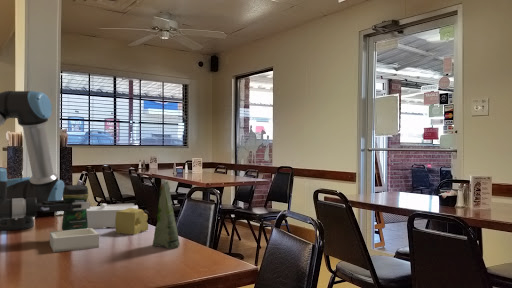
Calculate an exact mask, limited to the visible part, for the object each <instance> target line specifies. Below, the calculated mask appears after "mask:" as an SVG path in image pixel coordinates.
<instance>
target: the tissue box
mask: <svg viewBox="0 0 512 288" xmlns="http://www.w3.org/2000/svg"><path fill="white" fill-rule="evenodd" d="M128 208H135V209H139V206H138V205H137V204H136V205H135V203H118V204H117V203H116V204H107V203H101V204H100V206H99V205H98V206H90V209H87V221H88V228H94V229H104V228H103V227H115V219H116V212H117V211H121V210H125V209H128Z"/></svg>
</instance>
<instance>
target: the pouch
mask: <svg viewBox="0 0 512 288" xmlns="http://www.w3.org/2000/svg"><path fill="white" fill-rule="evenodd" d="M170 187H171V186H170V184H169V181H168V180H166V181H164V182H163V183H162V184H161V185H160V187H159V200H158V204H157V209H158V211H157V214H156V218H157V223H156V225H155V227H154V234H153V235H154V236H153V241H152V244H151V245H152V247H163V248H167V249H173V248H177V247H179V246H180V240H179V235H178V234H179V232H178V227H177V223H176V216H175V213H174V208H173V207H174V203H173V201H172V196H171V195H172V194H171V188H170Z"/></svg>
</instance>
